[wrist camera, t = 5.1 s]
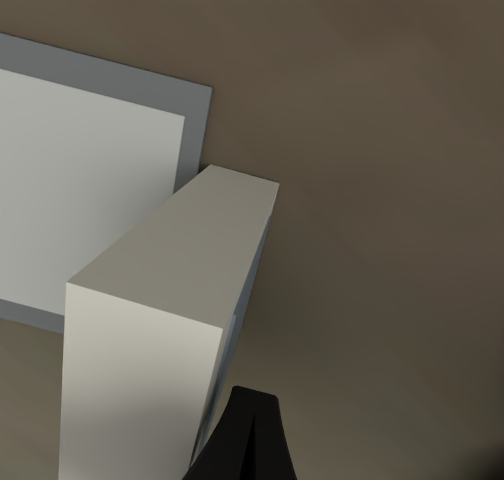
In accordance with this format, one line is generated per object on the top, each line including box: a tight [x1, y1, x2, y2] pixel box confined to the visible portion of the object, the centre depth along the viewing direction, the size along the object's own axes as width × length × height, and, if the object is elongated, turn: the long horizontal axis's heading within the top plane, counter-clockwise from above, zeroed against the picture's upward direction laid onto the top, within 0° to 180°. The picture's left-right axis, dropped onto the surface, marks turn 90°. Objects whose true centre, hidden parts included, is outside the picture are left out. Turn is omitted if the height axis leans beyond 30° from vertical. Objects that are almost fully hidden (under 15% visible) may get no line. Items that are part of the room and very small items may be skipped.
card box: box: [59, 164, 280, 480], centre depth 16 cm, size 4×9×12 cm, turn 167°
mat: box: [0, 32, 214, 334], centre depth 21 cm, size 18×16×1 cm
